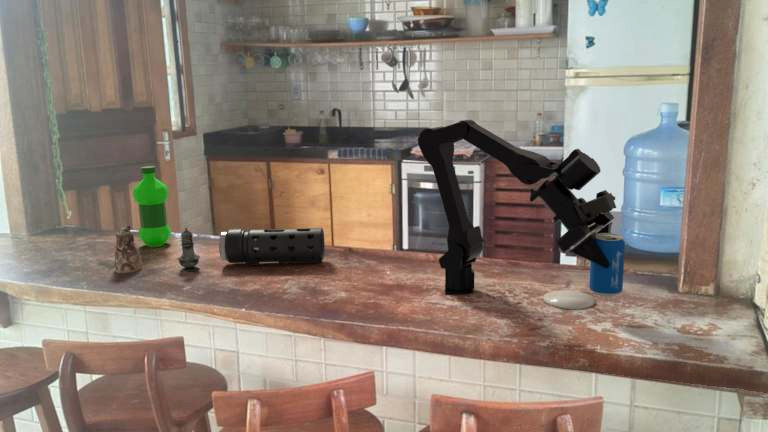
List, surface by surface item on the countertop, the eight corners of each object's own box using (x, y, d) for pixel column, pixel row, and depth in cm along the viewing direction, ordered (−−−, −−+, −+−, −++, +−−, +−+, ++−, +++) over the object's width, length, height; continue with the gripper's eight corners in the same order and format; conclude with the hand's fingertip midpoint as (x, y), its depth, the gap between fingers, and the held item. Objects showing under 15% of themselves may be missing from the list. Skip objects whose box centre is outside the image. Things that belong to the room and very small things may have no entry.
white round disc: (547, 309, 144) (547, 306, 144) (540, 292, 154) (540, 290, 154) (599, 309, 143) (599, 306, 143) (588, 292, 153) (588, 290, 153)
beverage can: (600, 299, 133) (603, 241, 130) (583, 289, 139) (585, 234, 136) (628, 295, 134) (632, 238, 132) (610, 286, 141) (612, 231, 138)
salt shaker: (187, 274, 177) (183, 231, 175) (174, 271, 181) (170, 228, 178) (205, 269, 182) (201, 226, 179) (192, 266, 185) (188, 224, 183)
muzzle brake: (321, 268, 180) (319, 231, 178) (219, 270, 181) (216, 233, 179) (325, 258, 190) (323, 223, 187) (228, 260, 190) (225, 225, 188)
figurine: (109, 271, 182) (104, 229, 179) (126, 264, 188) (122, 223, 186) (130, 273, 180) (125, 230, 177) (147, 266, 186) (143, 225, 184)
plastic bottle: (162, 249, 205) (154, 169, 200) (132, 248, 207) (123, 169, 202) (179, 241, 214) (171, 165, 209) (150, 240, 217) (142, 164, 212)
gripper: (575, 186, 127) (630, 250, 123) (606, 173, 141) (657, 229, 137) (535, 221, 133) (587, 283, 129) (569, 205, 148) (616, 260, 144)
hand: (613, 262), depth 134 cm, fingers closed on beverage can, 6 cm apart
